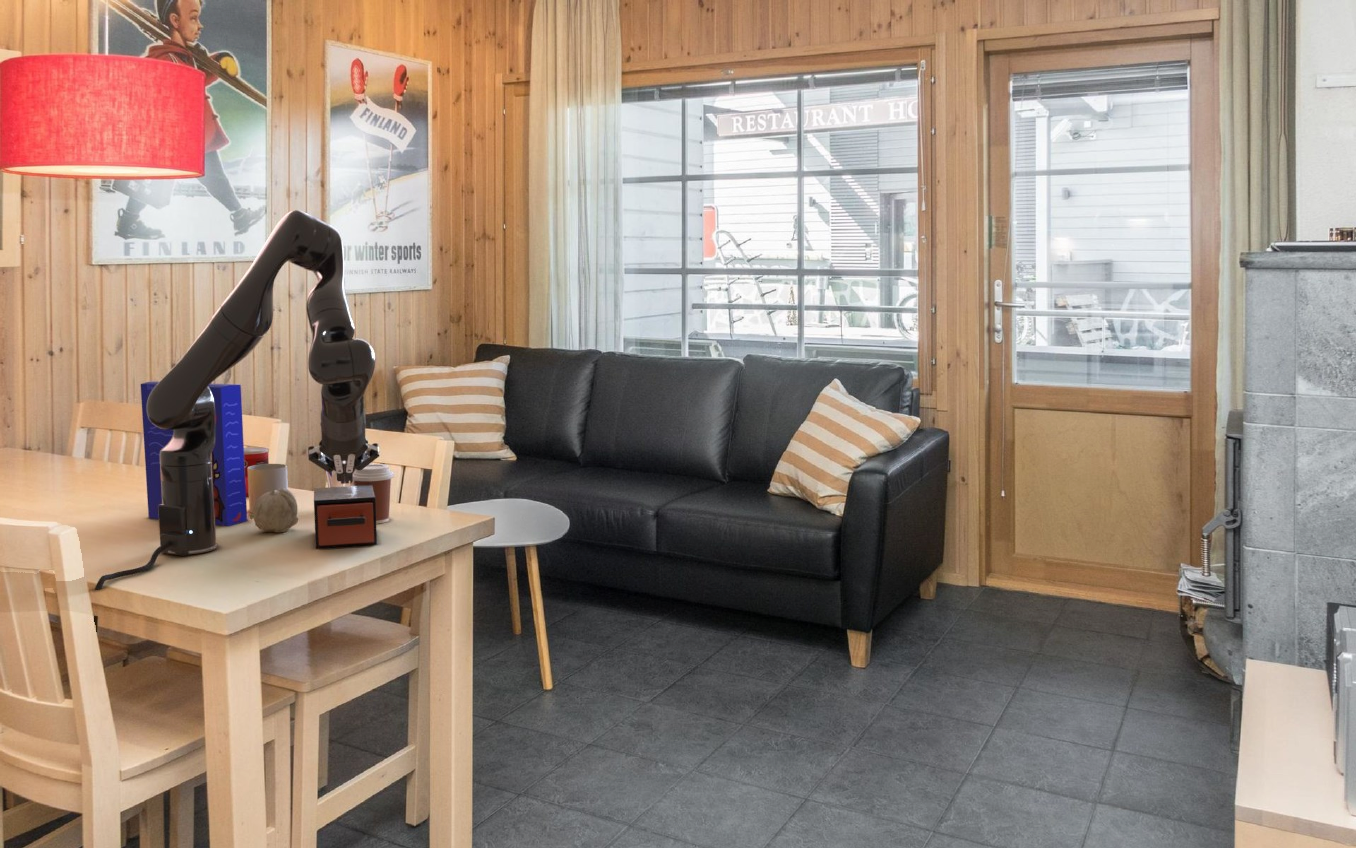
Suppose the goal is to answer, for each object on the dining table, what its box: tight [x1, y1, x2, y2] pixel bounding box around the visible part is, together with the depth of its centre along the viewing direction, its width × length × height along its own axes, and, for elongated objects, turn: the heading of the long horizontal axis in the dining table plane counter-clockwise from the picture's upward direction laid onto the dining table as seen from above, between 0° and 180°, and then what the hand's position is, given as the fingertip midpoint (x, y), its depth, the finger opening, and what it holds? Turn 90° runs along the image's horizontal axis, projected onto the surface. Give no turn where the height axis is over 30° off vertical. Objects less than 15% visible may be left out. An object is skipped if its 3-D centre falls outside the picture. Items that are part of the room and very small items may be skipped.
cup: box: [247, 463, 289, 514], centre depth 257 cm, size 8×8×10 cm
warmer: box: [313, 485, 378, 550], centre depth 229 cm, size 14×12×10 cm
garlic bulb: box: [247, 488, 299, 534], centre depth 236 cm, size 9×8×10 cm
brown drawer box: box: [317, 501, 374, 546], centre depth 225 cm, size 17×10×8 cm, turn 18°
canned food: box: [244, 446, 270, 497], centre depth 276 cm, size 8×8×11 cm
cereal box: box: [140, 380, 248, 527], centre depth 246 cm, size 22×6×30 cm, turn 70°
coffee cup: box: [352, 463, 395, 525], centre depth 246 cm, size 9×9×12 cm
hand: (344, 479), depth 212 cm, fingers closed
